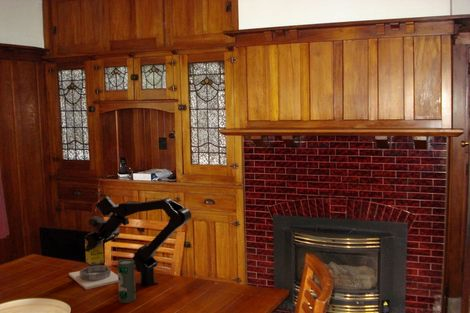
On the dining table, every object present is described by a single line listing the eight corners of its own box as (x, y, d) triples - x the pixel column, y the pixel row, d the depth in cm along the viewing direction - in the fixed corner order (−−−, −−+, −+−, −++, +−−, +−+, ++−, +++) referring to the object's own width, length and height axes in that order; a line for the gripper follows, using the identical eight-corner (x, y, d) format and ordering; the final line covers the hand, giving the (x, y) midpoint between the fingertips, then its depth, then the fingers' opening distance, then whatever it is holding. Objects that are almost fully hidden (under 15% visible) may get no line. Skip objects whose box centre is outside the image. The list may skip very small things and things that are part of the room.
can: (118, 298, 201) (116, 260, 200) (134, 296, 204) (132, 258, 202) (120, 303, 196) (119, 265, 194) (136, 301, 198) (135, 263, 196)
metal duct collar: (114, 276, 224) (114, 271, 223) (86, 283, 217) (85, 277, 216) (104, 269, 234) (103, 264, 234) (76, 275, 227) (76, 269, 226)
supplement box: (91, 266, 220) (89, 241, 219) (85, 263, 225) (84, 238, 224) (104, 263, 224) (103, 239, 223) (99, 260, 229) (97, 236, 227)
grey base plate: (123, 281, 221) (123, 278, 221) (85, 289, 212) (85, 287, 212) (104, 268, 239) (103, 266, 239) (69, 275, 230) (68, 273, 230)
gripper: (111, 206, 230) (91, 229, 234) (87, 215, 212) (66, 240, 217) (128, 224, 228) (107, 247, 233) (105, 235, 210) (83, 259, 215)
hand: (91, 248), depth 224 cm, fingers closed on supplement box, 8 cm apart
